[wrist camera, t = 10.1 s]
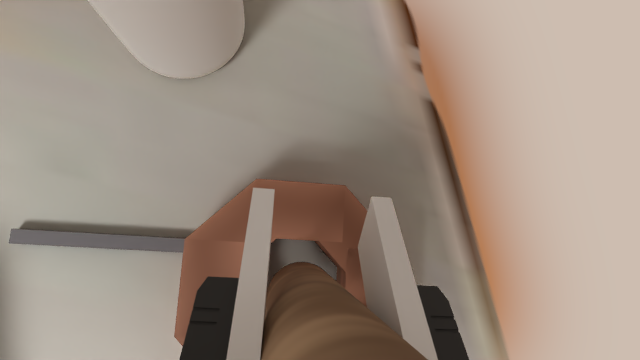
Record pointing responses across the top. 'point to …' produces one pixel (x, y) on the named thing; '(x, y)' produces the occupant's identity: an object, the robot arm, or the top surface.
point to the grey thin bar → (96, 240)
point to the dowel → (324, 321)
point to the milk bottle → (176, 33)
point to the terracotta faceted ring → (288, 223)
